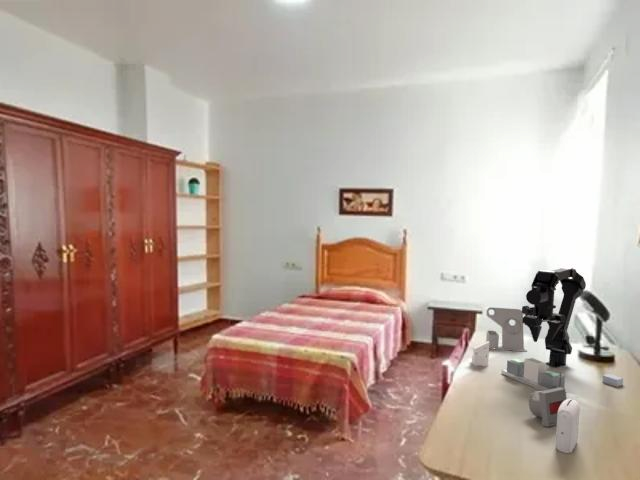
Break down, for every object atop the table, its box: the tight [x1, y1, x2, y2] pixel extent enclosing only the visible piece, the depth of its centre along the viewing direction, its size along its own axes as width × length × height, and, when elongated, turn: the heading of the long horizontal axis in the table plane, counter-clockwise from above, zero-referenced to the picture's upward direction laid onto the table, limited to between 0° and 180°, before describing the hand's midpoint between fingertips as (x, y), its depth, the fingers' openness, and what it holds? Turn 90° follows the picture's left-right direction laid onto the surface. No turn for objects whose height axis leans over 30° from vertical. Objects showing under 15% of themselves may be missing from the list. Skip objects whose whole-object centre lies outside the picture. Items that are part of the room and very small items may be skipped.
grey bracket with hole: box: [485, 307, 528, 353], centre depth 212 cm, size 17×10×18 cm, turn 78°
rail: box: [501, 358, 566, 391], centre depth 168 cm, size 7×22×6 cm, turn 26°
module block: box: [524, 357, 547, 383], centre depth 167 cm, size 4×6×7 cm, turn 26°
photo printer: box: [554, 398, 580, 454], centre depth 122 cm, size 10×4×12 cm, turn 140°
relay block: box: [602, 373, 624, 388], centre depth 166 cm, size 5×4×4 cm
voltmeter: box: [528, 372, 567, 427], centre depth 143 cm, size 27×11×10 cm, turn 152°
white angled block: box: [471, 341, 490, 367], centre depth 187 cm, size 4×10×9 cm, turn 84°
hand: (543, 340), depth 178 cm, fingers open, 9 cm apart
